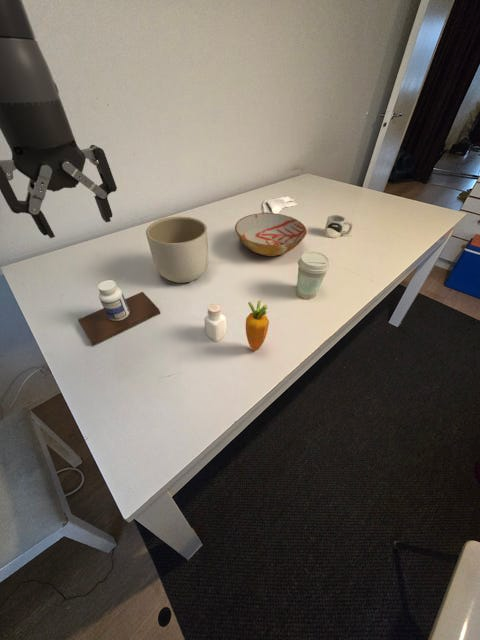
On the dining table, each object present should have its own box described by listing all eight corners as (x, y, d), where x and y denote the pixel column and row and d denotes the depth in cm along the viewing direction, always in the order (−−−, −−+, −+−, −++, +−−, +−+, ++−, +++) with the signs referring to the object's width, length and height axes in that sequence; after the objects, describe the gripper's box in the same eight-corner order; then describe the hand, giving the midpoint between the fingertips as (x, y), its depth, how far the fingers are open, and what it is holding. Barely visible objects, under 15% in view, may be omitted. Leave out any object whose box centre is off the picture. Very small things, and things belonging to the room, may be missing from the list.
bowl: (253, 273, 85) (254, 252, 80) (224, 239, 102) (224, 219, 96) (316, 258, 93) (321, 237, 87) (280, 228, 109) (282, 208, 103)
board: (93, 346, 63) (91, 342, 62) (79, 323, 68) (77, 319, 67) (160, 313, 72) (159, 309, 70) (143, 295, 77) (142, 291, 76)
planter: (155, 291, 78) (142, 245, 67) (158, 261, 90) (148, 217, 79) (211, 287, 80) (208, 242, 69) (208, 257, 92) (205, 215, 81)
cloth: (281, 195, 136) (281, 190, 134) (302, 202, 129) (303, 198, 127) (246, 209, 122) (246, 204, 121) (268, 218, 116) (269, 213, 114)
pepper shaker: (216, 326, 68) (214, 298, 62) (227, 334, 67) (226, 306, 60) (205, 335, 66) (201, 307, 59) (216, 343, 64) (214, 315, 58)
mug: (323, 237, 104) (327, 220, 99) (323, 229, 109) (327, 213, 104) (349, 240, 103) (355, 224, 98) (348, 232, 107) (354, 216, 103)
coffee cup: (287, 295, 78) (293, 260, 70) (299, 281, 83) (306, 247, 75) (313, 306, 75) (324, 271, 66) (324, 291, 80) (335, 256, 71)
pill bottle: (114, 306, 71) (101, 277, 64) (133, 308, 70) (122, 279, 64) (104, 320, 67) (89, 290, 60) (124, 322, 67) (111, 293, 60)
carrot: (240, 348, 63) (241, 302, 53) (255, 339, 65) (260, 292, 55) (253, 362, 61) (257, 315, 50) (269, 352, 63) (276, 305, 52)
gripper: (76, 90, 36) (114, 209, 47) (-58, 95, 29) (24, 232, 41) (96, 95, 32) (132, 223, 43) (-54, 102, 25) (36, 252, 37)
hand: (80, 227), depth 42 cm, fingers open, 8 cm apart
